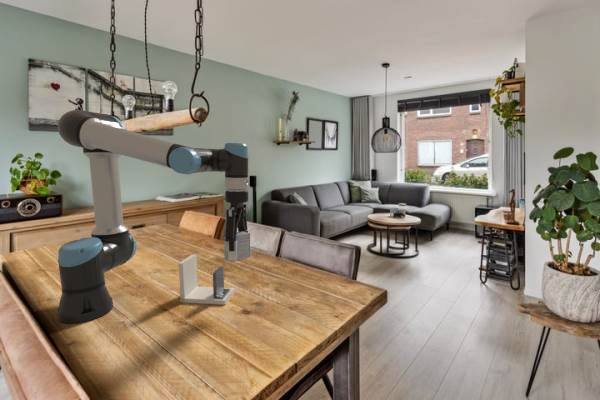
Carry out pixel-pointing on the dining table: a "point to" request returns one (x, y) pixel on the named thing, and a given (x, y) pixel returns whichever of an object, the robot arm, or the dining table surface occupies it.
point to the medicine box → (239, 246)
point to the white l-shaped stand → (196, 285)
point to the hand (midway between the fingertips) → (237, 255)
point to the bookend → (219, 284)
